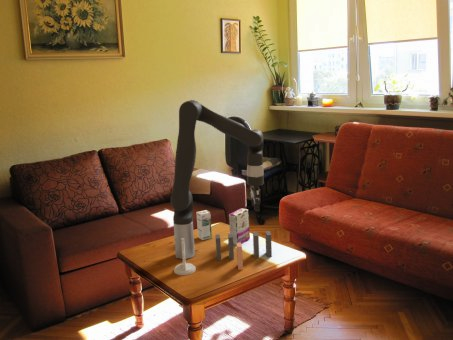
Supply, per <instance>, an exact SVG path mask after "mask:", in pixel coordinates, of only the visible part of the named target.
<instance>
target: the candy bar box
mask: <svg viewBox="0 0 453 340" xmlns="http://www.w3.org/2000/svg"><path fill="white" fill-rule="evenodd" d="M228 220H229V222H228V223H229V234H232V235H233V246H236V247H237V243H241V245H242V244H244V243H245V242H247V241H249V240H250V239H251V234H250V232H251V231H250V217H249V209H247V208H241V207H240V208H239V209H237V210H235V211H233V212H231V213H229V214H228Z"/></svg>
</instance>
